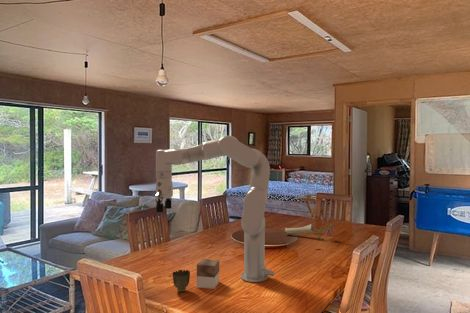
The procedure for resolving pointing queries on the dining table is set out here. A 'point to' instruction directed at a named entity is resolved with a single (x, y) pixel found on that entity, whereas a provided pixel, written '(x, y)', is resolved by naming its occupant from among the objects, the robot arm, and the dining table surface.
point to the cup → (181, 279)
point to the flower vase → (308, 230)
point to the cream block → (207, 281)
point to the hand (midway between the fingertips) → (164, 210)
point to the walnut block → (208, 268)
